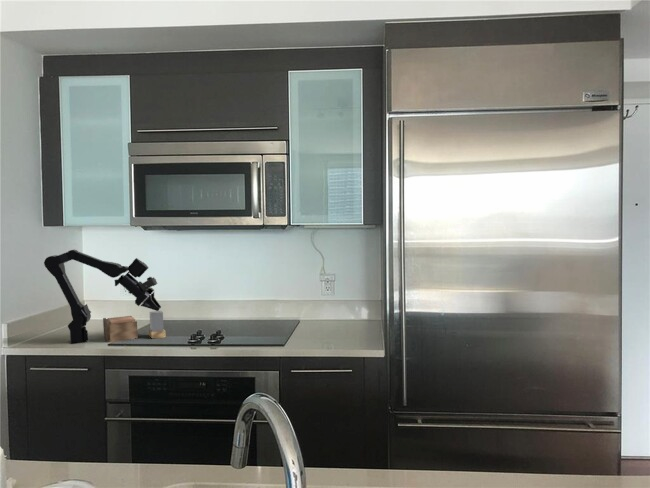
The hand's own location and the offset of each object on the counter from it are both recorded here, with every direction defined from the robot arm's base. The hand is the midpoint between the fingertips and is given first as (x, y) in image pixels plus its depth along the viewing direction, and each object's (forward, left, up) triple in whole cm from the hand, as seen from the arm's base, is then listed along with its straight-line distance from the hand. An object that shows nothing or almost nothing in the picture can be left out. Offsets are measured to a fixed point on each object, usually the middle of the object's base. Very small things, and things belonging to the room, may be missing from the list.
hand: (159, 309), depth 253 cm
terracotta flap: (-15, +8, -5) cm, 18 cm away
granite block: (-1, 0, -9) cm, 9 cm away
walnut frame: (-15, +8, -12) cm, 21 cm away
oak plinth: (-1, 0, -12) cm, 12 cm away
